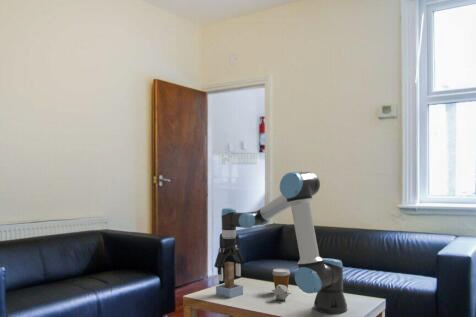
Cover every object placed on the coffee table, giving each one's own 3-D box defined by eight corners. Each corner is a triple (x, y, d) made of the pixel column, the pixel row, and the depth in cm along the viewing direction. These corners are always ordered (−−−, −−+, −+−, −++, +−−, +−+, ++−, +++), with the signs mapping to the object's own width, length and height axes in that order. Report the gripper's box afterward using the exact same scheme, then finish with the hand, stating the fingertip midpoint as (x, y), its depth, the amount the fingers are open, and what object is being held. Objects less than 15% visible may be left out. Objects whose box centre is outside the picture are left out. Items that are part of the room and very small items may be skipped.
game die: (284, 307, 225) (296, 290, 225) (278, 305, 218) (290, 288, 218) (272, 295, 230) (283, 279, 230) (265, 293, 223) (277, 277, 224)
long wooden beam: (234, 293, 235) (233, 262, 236) (229, 294, 233) (229, 263, 233) (229, 291, 238) (228, 261, 238) (224, 293, 235) (224, 262, 236)
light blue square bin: (242, 294, 236) (242, 285, 236) (230, 298, 228) (230, 289, 228) (229, 291, 242) (228, 282, 242) (216, 295, 235) (215, 286, 235)
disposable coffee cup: (289, 295, 232) (289, 272, 232) (271, 295, 234) (271, 271, 234) (291, 291, 241) (290, 268, 242) (273, 290, 243) (273, 268, 244)
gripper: (239, 234, 248) (239, 273, 247) (207, 239, 229) (207, 281, 228) (249, 235, 243) (250, 275, 242) (217, 240, 224) (218, 283, 224)
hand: (229, 278), depth 235 cm, fingers open, 13 cm apart
